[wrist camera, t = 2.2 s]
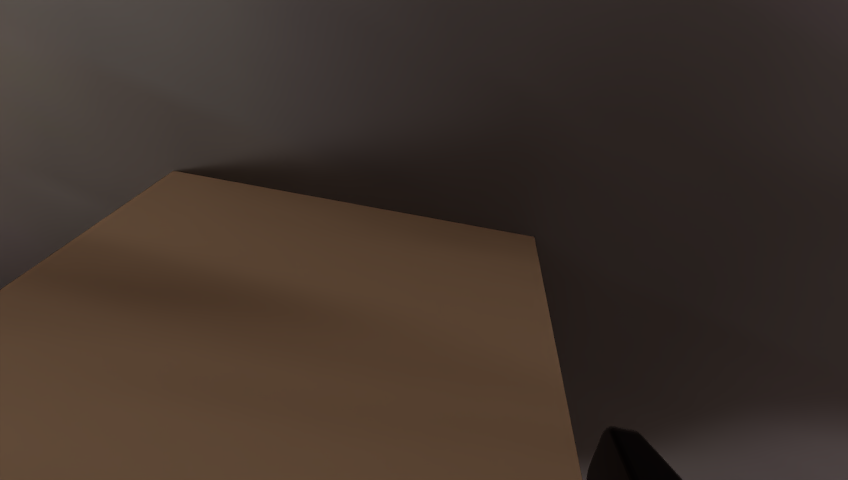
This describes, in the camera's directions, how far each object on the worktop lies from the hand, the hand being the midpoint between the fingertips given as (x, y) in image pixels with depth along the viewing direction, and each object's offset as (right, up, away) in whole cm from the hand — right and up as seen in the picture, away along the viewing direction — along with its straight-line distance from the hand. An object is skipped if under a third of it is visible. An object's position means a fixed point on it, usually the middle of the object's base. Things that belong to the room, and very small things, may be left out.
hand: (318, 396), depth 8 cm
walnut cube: (0, +1, +1) cm, 1 cm away
